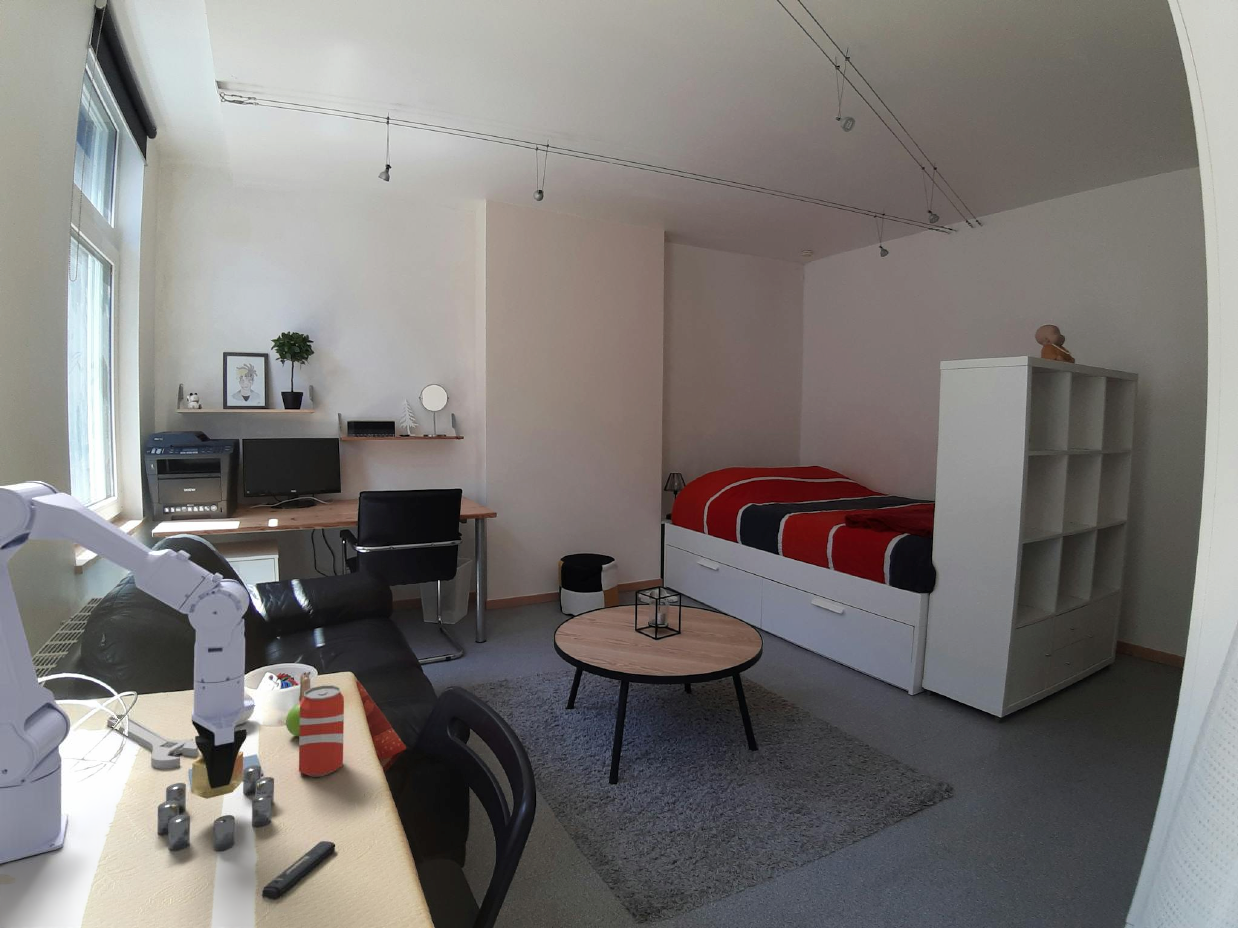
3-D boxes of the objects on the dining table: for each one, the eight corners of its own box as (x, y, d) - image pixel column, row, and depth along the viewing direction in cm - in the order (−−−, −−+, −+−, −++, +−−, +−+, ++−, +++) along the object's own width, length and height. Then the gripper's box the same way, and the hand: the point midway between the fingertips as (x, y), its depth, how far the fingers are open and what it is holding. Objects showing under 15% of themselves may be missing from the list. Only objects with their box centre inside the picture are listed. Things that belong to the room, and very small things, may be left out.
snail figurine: (287, 747, 107) (288, 674, 107) (284, 731, 113) (285, 662, 112) (323, 740, 110) (324, 669, 109) (319, 725, 115) (320, 657, 115)
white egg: (259, 724, 115) (260, 692, 115) (223, 734, 111) (224, 701, 111) (243, 711, 120) (244, 680, 120) (208, 720, 116) (208, 688, 116)
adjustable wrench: (103, 726, 113) (103, 716, 113) (147, 715, 118) (147, 705, 118) (159, 773, 98) (159, 762, 98) (206, 758, 103) (206, 747, 103)
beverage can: (342, 755, 105) (343, 681, 104) (343, 775, 99) (344, 696, 98) (299, 762, 102) (300, 686, 102) (298, 782, 96) (299, 702, 96)
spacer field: (159, 869, 77) (159, 842, 77) (156, 811, 88) (156, 787, 88) (284, 832, 84) (284, 808, 84) (267, 783, 96) (267, 761, 96)
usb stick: (320, 848, 82) (320, 836, 82) (338, 852, 81) (338, 840, 81) (259, 899, 73) (259, 885, 73) (278, 904, 72) (278, 890, 72)
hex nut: (193, 801, 84) (193, 770, 84) (190, 784, 88) (191, 754, 88) (245, 789, 87) (245, 759, 87) (240, 772, 91) (240, 744, 91)
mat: (191, 792, 93) (191, 790, 93) (188, 771, 99) (188, 769, 99) (263, 774, 98) (263, 773, 98) (256, 755, 104) (256, 753, 104)
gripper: (262, 687, 83) (260, 792, 84) (246, 654, 95) (245, 746, 96) (196, 698, 79) (194, 808, 80) (188, 662, 91) (187, 759, 91)
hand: (218, 776), depth 87 cm, fingers closed on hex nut, 5 cm apart
